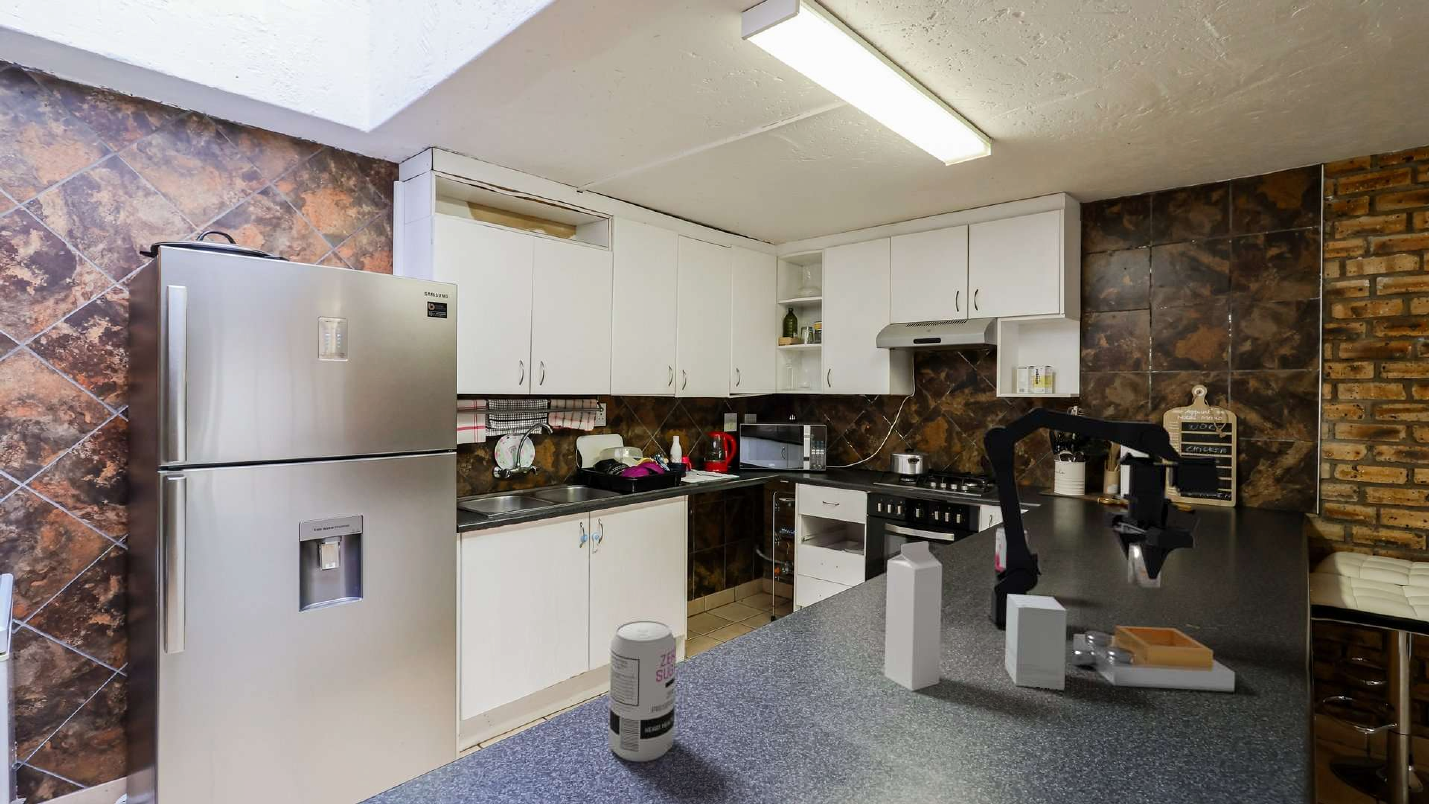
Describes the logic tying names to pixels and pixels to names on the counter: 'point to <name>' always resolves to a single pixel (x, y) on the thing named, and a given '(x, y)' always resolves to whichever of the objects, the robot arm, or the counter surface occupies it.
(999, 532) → the beverage can
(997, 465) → the robot arm
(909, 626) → the milk
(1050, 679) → the supplement box
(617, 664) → the supplement can
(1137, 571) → the spout can
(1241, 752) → the counter surface
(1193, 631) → the counter surface
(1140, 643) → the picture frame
